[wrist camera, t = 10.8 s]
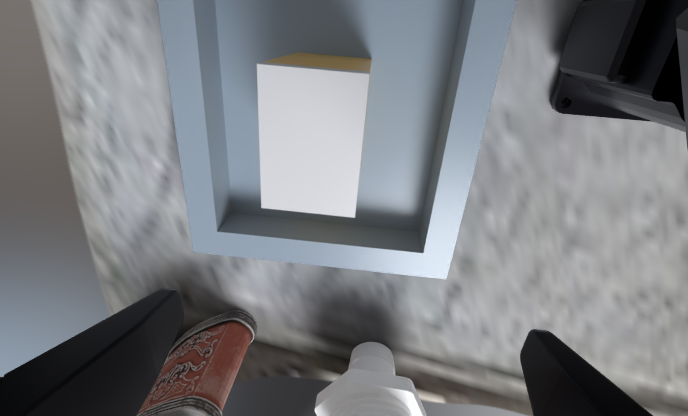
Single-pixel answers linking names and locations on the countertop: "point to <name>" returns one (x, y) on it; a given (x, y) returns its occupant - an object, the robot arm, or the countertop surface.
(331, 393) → the pipe fitting
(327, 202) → the yellow and white block
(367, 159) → the parts tray
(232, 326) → the lighter
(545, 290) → the countertop surface
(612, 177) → the countertop surface
